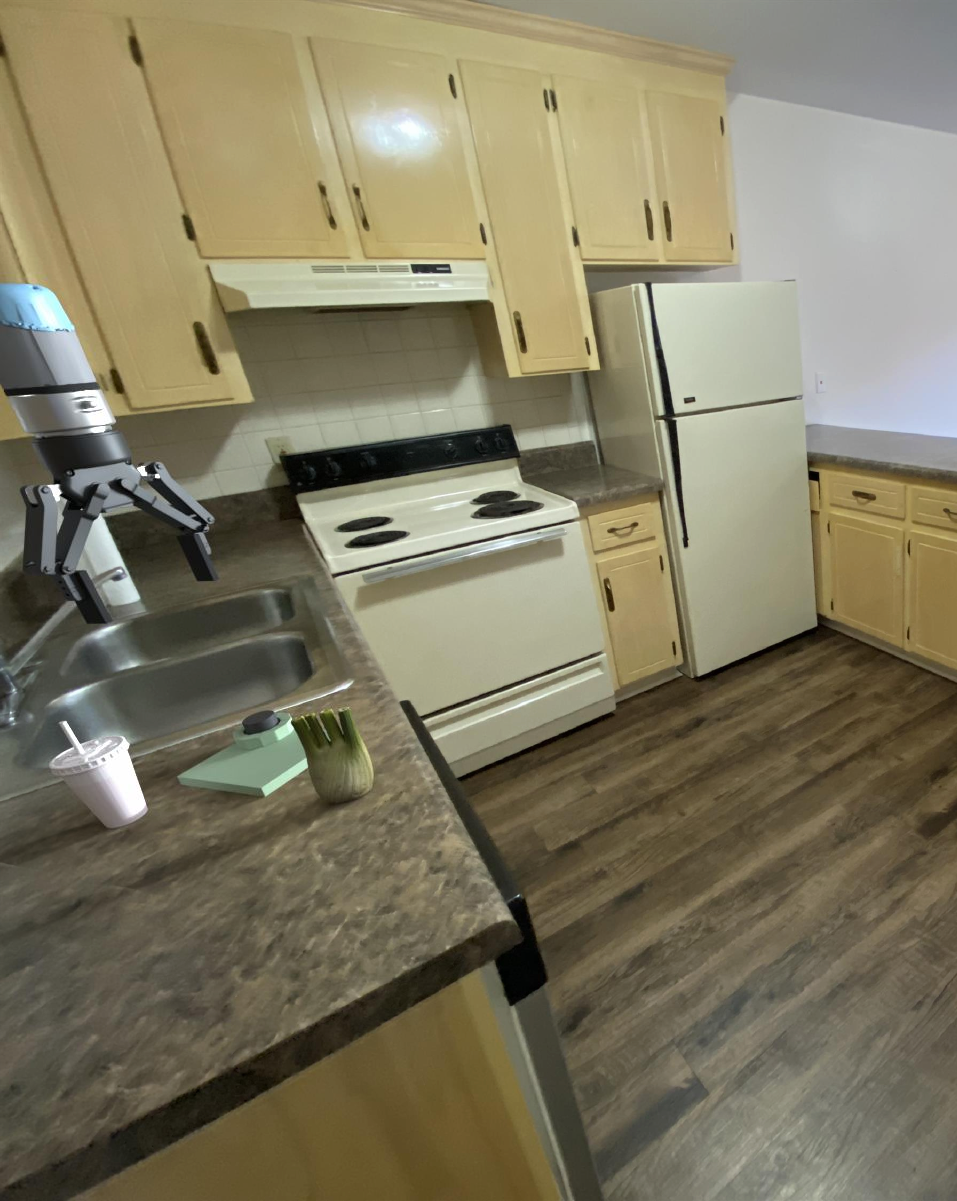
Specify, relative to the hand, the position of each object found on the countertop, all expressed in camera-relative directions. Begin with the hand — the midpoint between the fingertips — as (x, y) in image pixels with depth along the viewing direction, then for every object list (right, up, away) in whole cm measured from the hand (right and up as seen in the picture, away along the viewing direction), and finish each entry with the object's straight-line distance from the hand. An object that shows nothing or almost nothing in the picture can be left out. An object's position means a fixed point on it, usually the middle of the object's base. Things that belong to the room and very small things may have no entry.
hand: (158, 600), depth 84 cm
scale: (+11, -22, +3) cm, 25 cm away
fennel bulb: (+28, -24, -4) cm, 37 cm away
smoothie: (+2, -26, -5) cm, 27 cm away
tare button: (+8, -18, +6) cm, 21 cm away
